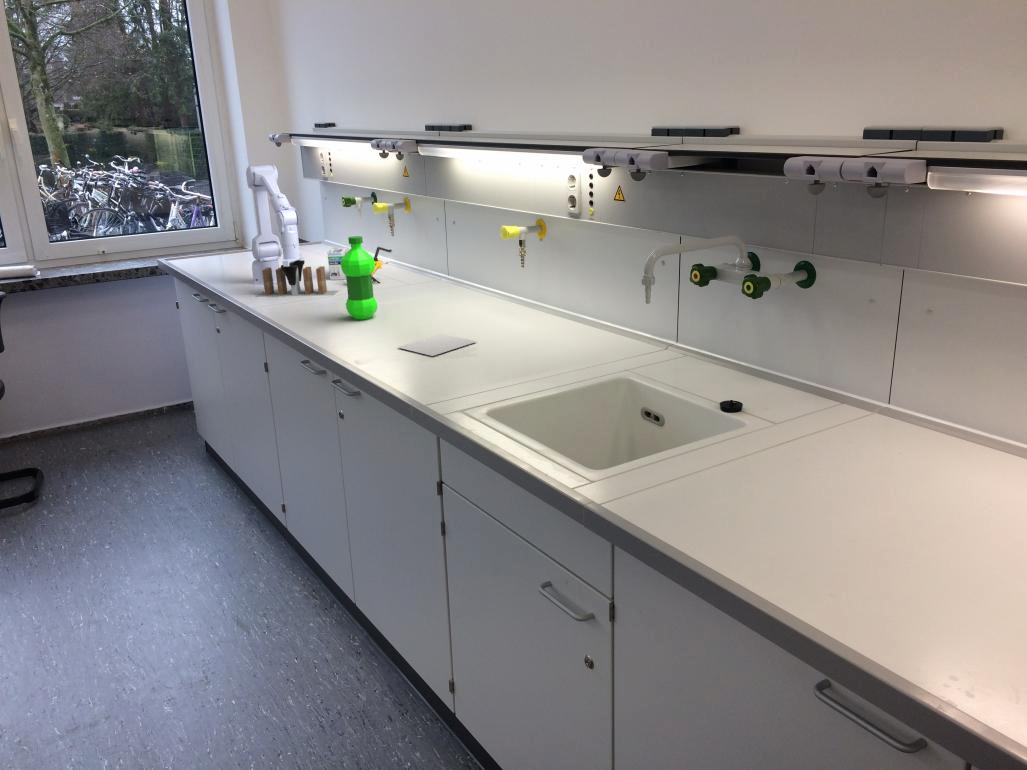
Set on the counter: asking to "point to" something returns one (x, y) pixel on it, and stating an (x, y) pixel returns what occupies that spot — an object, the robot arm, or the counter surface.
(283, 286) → the domino
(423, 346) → the grey flat square plate
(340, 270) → the light bulb box
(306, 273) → the domino
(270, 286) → the domino
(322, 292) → the domino
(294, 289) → the grey domino
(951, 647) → the counter surface
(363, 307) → the plastic bottle
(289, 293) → the rubber mat
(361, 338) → the counter surface
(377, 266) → the robot dog
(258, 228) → the robot arm
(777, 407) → the counter surface
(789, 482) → the counter surface
